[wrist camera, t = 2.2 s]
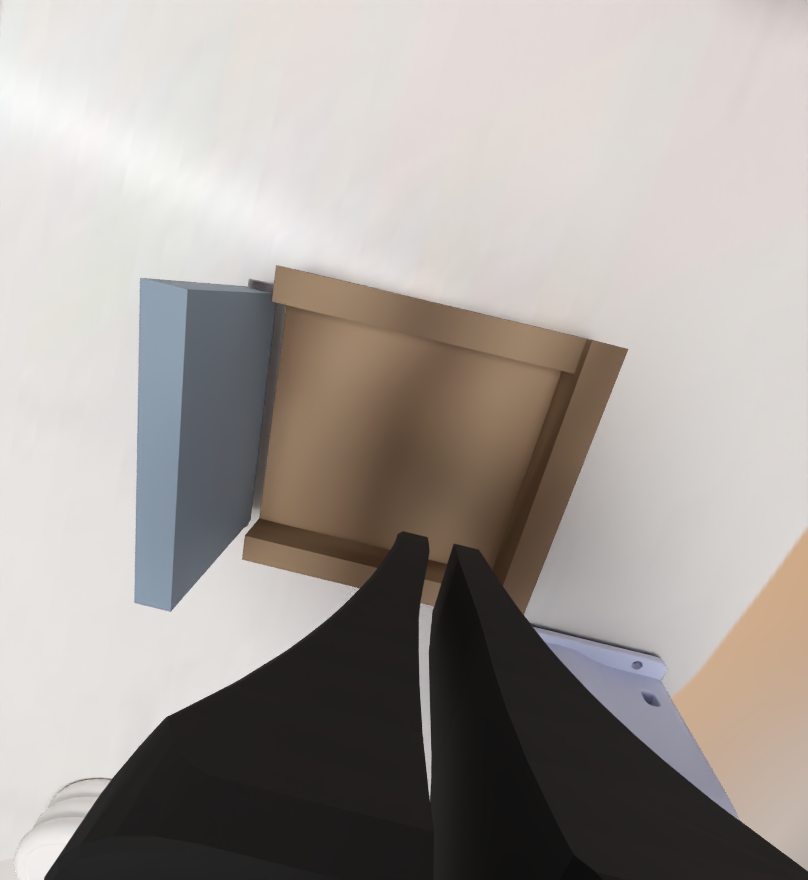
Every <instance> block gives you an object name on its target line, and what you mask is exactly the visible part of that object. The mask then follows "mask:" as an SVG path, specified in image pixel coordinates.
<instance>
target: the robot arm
mask: <svg viewBox="0 0 808 880" xmlns="http://www.w3.org/2000/svg"><path fill="white" fill-rule="evenodd" d="M429 552H430V550H429V541H428V537H425V536H421V535H417V534H413V533H409V532H405V531H402V532H401V533H399V534H397V538H396V540H395V543H394V545H393V546H392V548H391V550H390V551H389V553H388V554H387V556H386V557H385V559H384V560H383V562H382V563H381V564H380V565H379V567H378V568H377V569H376V571H375V572H374V573H373V574H372V576H371V577H370V578H369V579H368V580H367V581H366V582H365V583H364V585H363V586H362V587H361V588H360V589H359V590H358V591H357V592H356V593H355V594H354V595H353V596H352V597H351V598H350V599H349V600H348V601H347V602H346V603H345V604H344V605H343V606H342V607H341V608H340V609H339V610H338V611H337V612H336V613H334V614H333V615H332V616H331V617H330V618H329V619H327V620H326V621H325V622H324V623H323V624H321V625H320V626H319V627H318V628H316V629H315V630H314V631H312V632H311V633H310V634H309V635H307V636H306V637H305V638H303V639H302V640H301V641H299V642H298V643H297V644H295V645H294V646H292V647H291V648H289V649H288V650H287V651H285V652H284V653H282V654H280V655H279V656H277V657H276V658H274V659H272V660H271V661H269V662H268V663H266V664H264V665H263V666H261V667H260V668H258V669H256V670H255V671H253V672H252V673H250V674H248V675H247V676H245V677H243V678H242V679H240V680H238V681H236V682H235V683H233V684H231V685H229V686H227V687H225V688H223V689H221V690H219V691H217V692H216V693H214V694H212V695H210V696H208V697H206V698H204V699H202V700H200V701H198V702H196V703H194V704H192V705H190V706H188V707H186V708H184V709H182V710H180V711H178V712H176V713H174V714H172V715H170V716H168V717H166V718H165V719H164V720H163V721H162V722H161V723H160V724H159V725H158V727H157V728H156V729H155V730H154V731H153V732H152V733H151V734H150V735H149V736H148V738H147V739H146V740H145V741H144V742H143V743H142V744H141V745H140V746H139V748H138V749H137V750H136V751H135V752H134V754H133V755H132V756H131V757H130V758H129V760H128V761H127V762H126V763H125V764H124V765H123V767H122V768H121V769H120V770H119V771H118V773H117V774H116V775H115V776H114V777H113V779H112V780H111V781H110V782H109V784H108V785H107V786H106V788H105V789H104V790H103V791H102V793H101V794H100V795H99V797H98V798H97V800H96V801H95V803H94V804H93V806H92V807H91V809H90V810H89V812H88V813H87V815H86V816H85V818H84V819H83V821H82V822H81V824H80V825H79V827H78V828H77V830H76V831H75V832H74V834H73V835H72V837H71V838H70V840H69V841H68V843H67V844H66V846H65V847H64V849H63V850H62V852H61V853H60V855H59V856H58V858H57V859H56V861H55V862H54V864H53V865H52V867H51V868H50V870H49V871H48V872H47V874H46V875H45V877H44V880H808V871H806V870H805V869H804V868H802V867H801V866H800V865H799V864H797V863H796V862H794V861H793V860H792V859H790V858H789V857H788V856H786V855H785V854H784V853H782V852H781V851H780V850H778V849H777V848H776V847H774V846H773V845H771V844H770V843H769V842H768V841H766V840H765V839H764V838H762V837H761V836H760V835H758V834H757V833H755V832H754V831H753V830H752V829H750V828H749V827H748V826H746V825H745V824H743V823H742V822H741V821H740V820H739V818H738V816H737V813H736V811H735V809H734V807H733V805H732V803H731V801H730V799H729V798H728V796H727V794H726V792H725V790H724V789H723V787H722V786H721V784H720V782H719V780H718V778H717V777H716V775H715V774H714V772H713V770H712V768H711V767H710V765H709V763H708V761H707V760H706V758H705V756H704V754H703V753H702V751H701V749H700V747H699V746H698V744H697V742H696V741H695V739H694V737H693V735H692V734H691V732H690V730H689V729H688V727H687V725H686V724H685V722H684V720H683V718H682V717H681V715H680V713H679V711H678V710H677V708H676V706H675V704H674V703H673V701H672V699H671V698H670V696H669V694H668V692H667V691H666V689H665V687H664V686H663V684H662V682H661V680H662V678H663V676H664V674H665V673H666V670H667V668H666V665H665V663H664V662H663V660H662V659H661V658H658V657H655V656H651V655H647V654H643V653H639V652H634V651H630V650H626V649H622V648H618V647H614V646H610V645H606V644H602V643H598V642H593V641H589V640H585V639H581V638H577V637H573V636H569V635H565V634H561V633H557V632H552V631H548V630H544V629H540V628H536V627H532V625H531V624H530V623H529V622H528V620H527V619H526V618H525V616H524V615H523V614H522V612H521V611H520V610H519V608H518V607H517V605H516V604H515V603H514V601H513V600H512V598H511V597H510V596H509V594H508V593H507V591H506V590H505V588H504V587H503V585H502V584H501V582H500V581H499V579H498V578H497V576H496V575H495V573H494V572H493V570H492V569H491V567H490V566H489V564H488V563H487V561H486V560H485V558H484V557H483V555H482V554H481V552H480V551H479V549H475V548H471V547H466V546H462V545H458V544H454V543H453V547H452V550H451V553H450V557H449V560H448V563H447V566H446V570H445V573H444V576H443V580H442V583H441V586H440V589H439V593H438V596H437V599H436V602H435V606H434V609H433V613H432V624H431V634H430V646H429V679H430V716H431V751H432V765H431V795H430V799H429V791H428V782H427V772H426V763H425V753H424V744H423V734H422V719H421V703H420V687H419V610H420V602H421V597H422V591H423V586H424V580H425V575H426V569H427V564H428V558H429ZM636 661H638V662H636ZM633 662H636V663H633Z"/></svg>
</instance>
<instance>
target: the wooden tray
mask: <svg viewBox="0 0 808 880" xmlns="http://www.w3.org/2000/svg"><path fill="white" fill-rule="evenodd" d="M272 302H276V303H280V304H284V305H286V313H285V321H284V329H283V336H282V344H281V352H280V360H279V368H278V376H277V384H276V392H275V400H274V407H273V415H272V423H271V431H270V439H269V447H268V455H267V463H266V471H265V478H264V486H263V494H262V502H261V510H260V518H259V520H258V521H257V522H256V523H255V524H254V526H253V527H252V528H251V529H250V530H249V531H248V533H247V534H246V535H245V539H244V548H243V557H242V560H247V561H251V562H255V563H259V564H263V565H267V566H271V567H275V568H279V569H283V570H288V571H292V572H296V573H300V574H304V575H308V576H312V577H316V578H320V579H324V580H329V581H333V582H337V583H341V584H345V585H349V586H353V587H357V588H361V587H362V586H363V585H364V583H365V582H366V581H367V580H368V579H369V578H370V577H371V576H372V574H373V573H374V572H375V571H376V569H377V568H378V567H379V565H380V564H381V563H382V562H383V560H384V559H385V557H386V556H387V554H388V553H389V551H390V550H391V548H392V546H393V545H394V543H395V540H396V538H397V534H399V533H401V532H402V531H405V532H409V533H413V534H417V535H421V536H425V537H428V541H429V550H430V552H429V558H428V564H427V569H426V575H425V580H424V586H423V591H422V597H421V602H420V603H423V604H427V605H431V606H435V602H436V599H437V596H438V593H439V589H440V586H441V583H442V580H443V576H444V573H445V570H446V566H447V563H448V560H449V557H450V553H451V550H452V547H453V543H454V544H458V545H462V546H466V547H471V548H475V549H479V551H480V552H481V554H482V555H483V557H484V558H485V560H486V561H487V563H488V564H489V566H490V567H491V569H492V570H493V572H494V573H495V575H496V576H497V578H498V579H499V581H500V582H501V584H502V585H503V587H504V588H505V590H506V591H507V593H508V594H509V596H510V597H511V598H512V600H513V601H514V603H515V604H516V605H517V607H518V608H519V610H520V611H521V612H522V614H523V615H524V613H525V610H526V608H527V605H528V602H529V600H530V597H531V595H532V592H533V590H534V587H535V585H536V582H537V580H538V577H539V575H540V572H541V569H542V567H543V564H544V562H545V559H546V557H547V554H548V552H549V549H550V547H551V544H552V542H553V539H554V536H555V534H556V531H557V529H558V526H559V524H560V521H561V519H562V516H563V514H564V511H565V509H566V506H567V503H568V501H569V498H570V496H571V493H572V491H573V488H574V486H575V483H576V481H577V478H578V476H579V473H580V470H581V468H582V465H583V463H584V460H585V458H586V455H587V453H588V450H589V448H590V445H591V443H592V440H593V437H594V435H595V432H596V430H597V427H598V425H599V422H600V420H601V417H602V415H603V412H604V410H605V407H606V404H607V402H608V399H609V397H610V394H611V392H612V389H613V387H614V384H615V382H616V379H617V377H618V374H619V371H620V369H621V366H622V364H623V361H624V359H625V356H626V354H627V351H628V349H626V348H622V347H618V346H614V345H610V344H606V343H602V342H598V341H594V340H590V339H585V338H581V337H577V336H573V335H569V334H564V333H560V332H556V331H552V330H548V329H543V328H539V327H535V326H531V325H527V324H522V323H518V322H514V321H510V320H506V319H501V318H497V317H493V316H489V315H485V314H480V313H476V312H472V311H468V310H464V309H459V308H455V307H451V306H447V305H443V304H438V303H434V302H430V301H426V300H422V299H417V298H413V297H409V296H405V295H401V294H396V293H392V292H388V291H384V290H380V289H375V288H371V287H367V286H363V285H359V284H354V283H350V282H346V281H342V280H338V279H333V278H329V277H325V276H321V275H317V274H312V273H308V272H304V271H300V270H295V269H291V268H286V267H282V266H277V265H276V271H275V280H274V289H273V297H272Z"/></svg>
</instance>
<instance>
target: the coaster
mask: <svg viewBox="0 0 808 880" xmlns="http://www.w3.org/2000/svg"><path fill="white" fill-rule="evenodd" d="M110 781H111V780H108V779H90V780H84V781H79V782H76V783H74V784H71V785H69V786H67V787H66V788H64V789H63V790H62V791H61V792H60V793H59V794H57V795H56V796H55V797H54V799H53V800H52V802H51V804H50V806H49V808H48V809H47V810H46V811H45V812H44V813H42V814H41V815H40V817H39V818H38V819H37V821H36V823H35V825H34V827H33V829H32V830H30V831H29V832H28V833H27V834H26V835H25V836H24V837H23V838H22V840H21V841H20V843H19V845H18V847H17V850H16V852H15V857H14V867H15V873H16V876H17V879H18V880H44V877H45V875H46V874H47V872H48V871H49V870H50V868H51V867H52V865H53V864H54V862H55V861H56V859H57V858H58V856H59V855H60V853H61V852H62V850H63V849H64V847H65V846H66V844H67V843H68V841H69V840H70V838H71V837H72V835H73V834H74V832H75V831H76V830H77V828H78V827H79V825H80V824H81V822H82V821H83V819H84V818H85V816H86V815H87V813H88V812H89V810H90V809H91V807H92V806H93V804H94V803H95V801H96V800H97V798H98V797H99V795H100V794H101V793H102V791H103V790H104V789H105V788H106V786H107V785H108V784H109V782H110Z"/></svg>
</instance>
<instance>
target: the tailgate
mask: <svg viewBox="0 0 808 880" xmlns="http://www.w3.org/2000/svg"><path fill="white" fill-rule="evenodd" d="M273 289H274V284H272V283H268V282H263V281H259V280H254V279H249V283H248V287H246V286H234V285H221V284H209V283H197V282H184V281H172V280H160V279H147V278H140V320H139V376H138V433H137V489H136V546H135V602H134V603H137V604H141V605H145V606H150V607H154V608H158V609H162V610H166V611H170V612H171V611H172V609H173V608H174V607H175V606H176V605H177V604H178V603H179V601H180V600H181V599H182V598H183V597H184V596H185V595H186V593H187V592H188V591H189V590H190V589H191V588H192V587H193V585H194V584H195V583H196V582H197V581H198V580H199V579H200V577H201V576H202V575H203V574H204V573H205V572H206V571H207V569H208V568H209V567H210V566H211V565H212V564H213V562H214V561H215V560H216V559H217V558H218V557H219V556H220V554H221V553H222V552H223V551H224V550H225V549H226V548H227V546H228V545H229V544H230V543H231V542H232V541H233V540H234V538H235V537H236V536H237V535H238V534H239V533H240V532H241V530H242V529H243V528H244V527H246V526H247V525H248V524H249V521H250V520H251V511H252V503H253V495H254V486H255V478H256V469H257V461H258V453H259V444H260V436H261V427H262V419H263V411H264V402H265V394H266V385H267V377H268V369H269V360H270V352H271V343H272V335H273V327H274V318H275V310H276V302H272V297H273Z"/></svg>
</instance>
